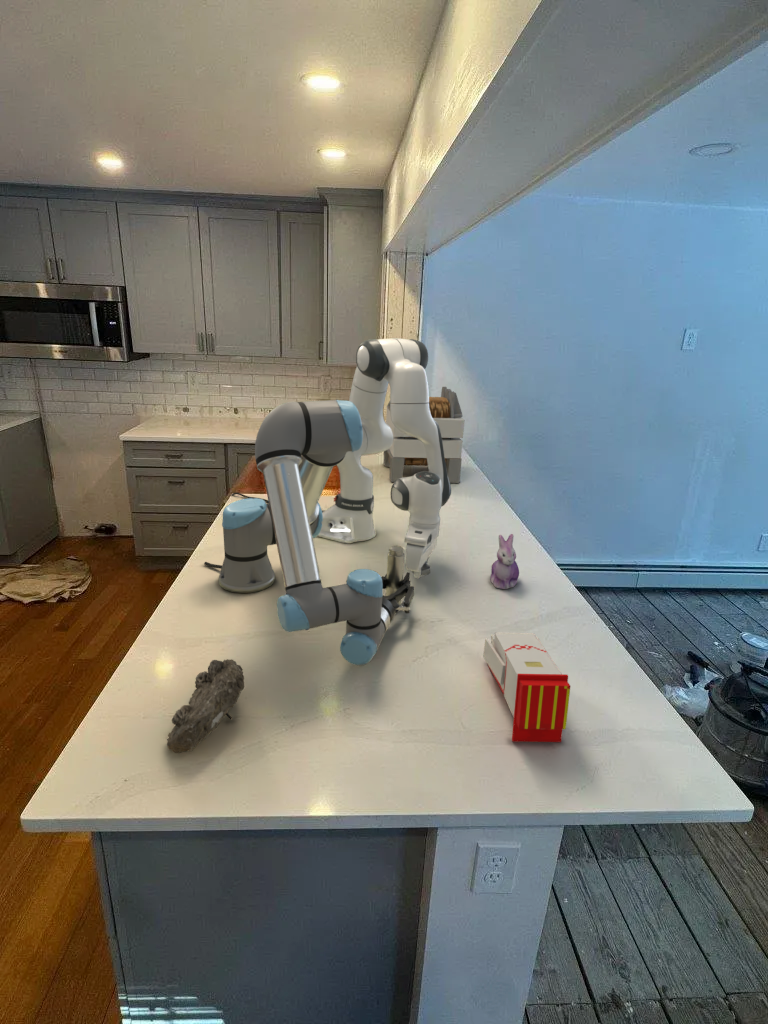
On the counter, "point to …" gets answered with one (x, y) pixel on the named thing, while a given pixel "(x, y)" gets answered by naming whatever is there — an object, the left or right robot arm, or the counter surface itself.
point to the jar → (394, 569)
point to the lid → (425, 569)
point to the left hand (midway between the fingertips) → (399, 575)
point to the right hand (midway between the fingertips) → (420, 572)
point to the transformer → (413, 449)
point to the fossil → (206, 705)
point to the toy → (529, 686)
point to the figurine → (505, 565)
